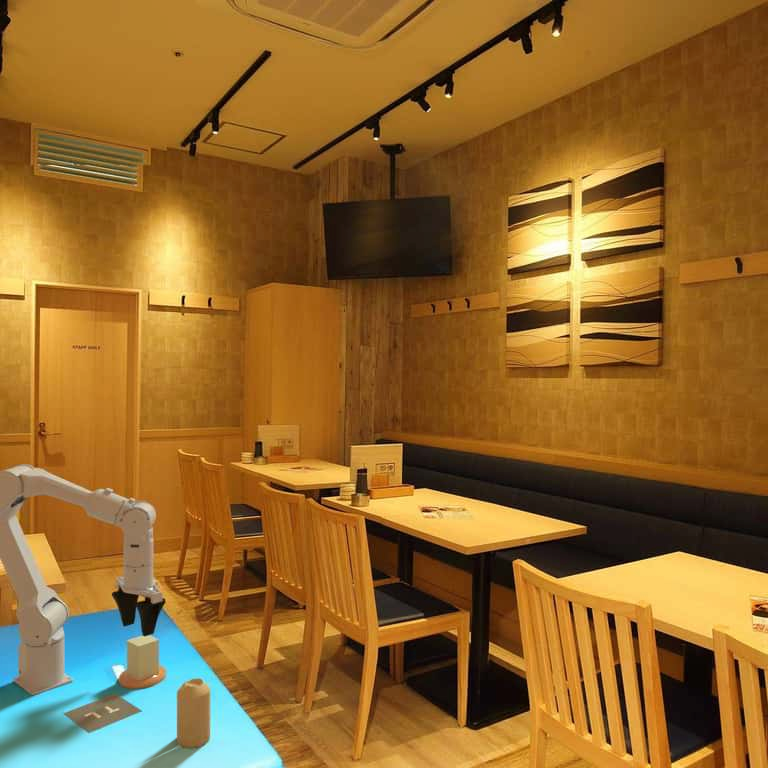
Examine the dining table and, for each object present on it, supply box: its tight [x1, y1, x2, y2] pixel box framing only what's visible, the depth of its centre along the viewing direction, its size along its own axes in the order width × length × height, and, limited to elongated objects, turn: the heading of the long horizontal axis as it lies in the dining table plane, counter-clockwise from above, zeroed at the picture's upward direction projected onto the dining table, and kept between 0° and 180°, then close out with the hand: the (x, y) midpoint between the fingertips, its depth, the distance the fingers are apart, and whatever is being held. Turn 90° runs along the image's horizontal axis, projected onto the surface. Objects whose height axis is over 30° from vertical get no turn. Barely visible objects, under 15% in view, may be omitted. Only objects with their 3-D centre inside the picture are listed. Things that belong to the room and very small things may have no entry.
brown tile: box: [62, 693, 143, 734], centre depth 124 cm, size 10×10×1 cm
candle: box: [176, 678, 211, 749], centre depth 115 cm, size 6×6×10 cm
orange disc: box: [118, 664, 167, 690], centre depth 137 cm, size 9×9×1 cm
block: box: [126, 634, 160, 681], centre depth 137 cm, size 4×4×7 cm
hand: (138, 629), depth 137 cm, fingers open, 7 cm apart
